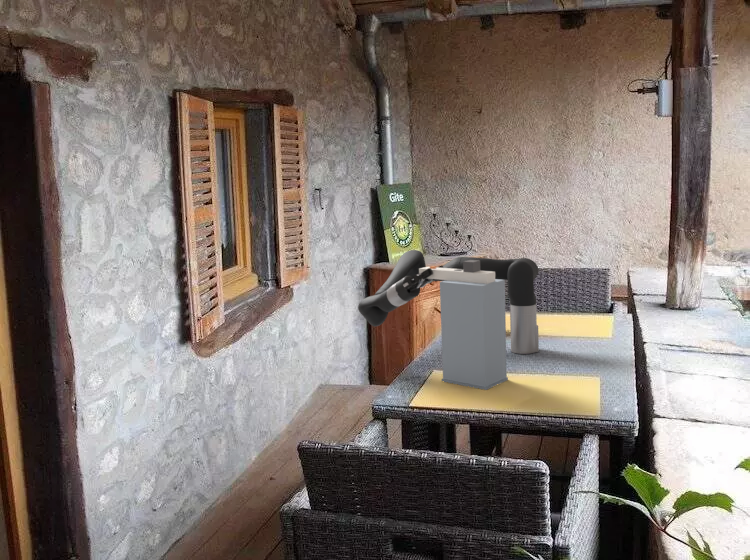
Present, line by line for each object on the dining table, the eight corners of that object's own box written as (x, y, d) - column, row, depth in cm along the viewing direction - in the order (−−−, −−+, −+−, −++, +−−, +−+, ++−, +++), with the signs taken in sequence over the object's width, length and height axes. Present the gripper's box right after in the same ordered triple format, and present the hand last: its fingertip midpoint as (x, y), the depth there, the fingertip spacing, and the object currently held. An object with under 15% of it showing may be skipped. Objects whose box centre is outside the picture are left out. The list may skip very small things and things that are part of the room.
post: (441, 381, 245) (438, 282, 239) (464, 371, 254) (461, 276, 249) (485, 390, 234) (483, 286, 228) (508, 379, 243) (506, 279, 238)
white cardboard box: (419, 277, 249) (418, 258, 248) (427, 275, 253) (427, 256, 252) (487, 283, 232) (486, 263, 231) (495, 281, 236) (494, 261, 235)
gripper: (421, 297, 262) (455, 276, 251) (394, 305, 252) (428, 283, 241) (411, 278, 264) (445, 256, 253) (384, 284, 253) (418, 261, 242)
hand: (437, 269), depth 247 cm, fingers open, 5 cm apart
